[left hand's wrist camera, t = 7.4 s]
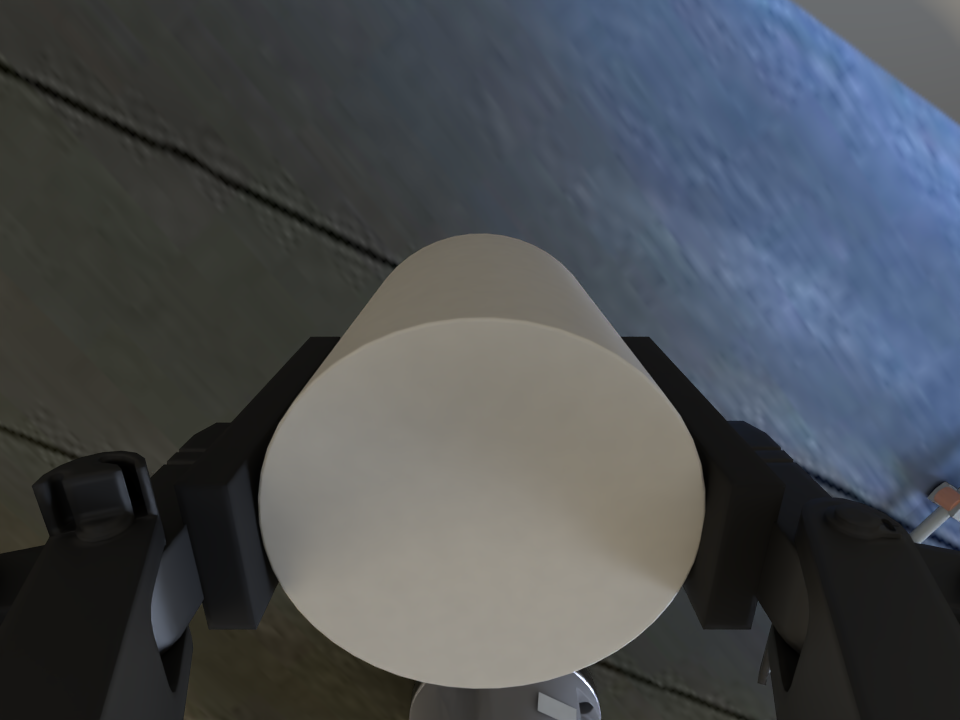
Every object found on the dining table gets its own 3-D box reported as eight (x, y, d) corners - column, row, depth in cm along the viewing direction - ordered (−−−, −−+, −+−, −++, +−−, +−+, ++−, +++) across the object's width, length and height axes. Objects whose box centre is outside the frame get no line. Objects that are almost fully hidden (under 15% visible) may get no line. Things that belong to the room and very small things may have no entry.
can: (579, 207, 15) (688, 267, 7) (612, 430, 17) (719, 655, 9) (332, 263, 15) (181, 375, 8) (399, 472, 18) (337, 715, 10)
